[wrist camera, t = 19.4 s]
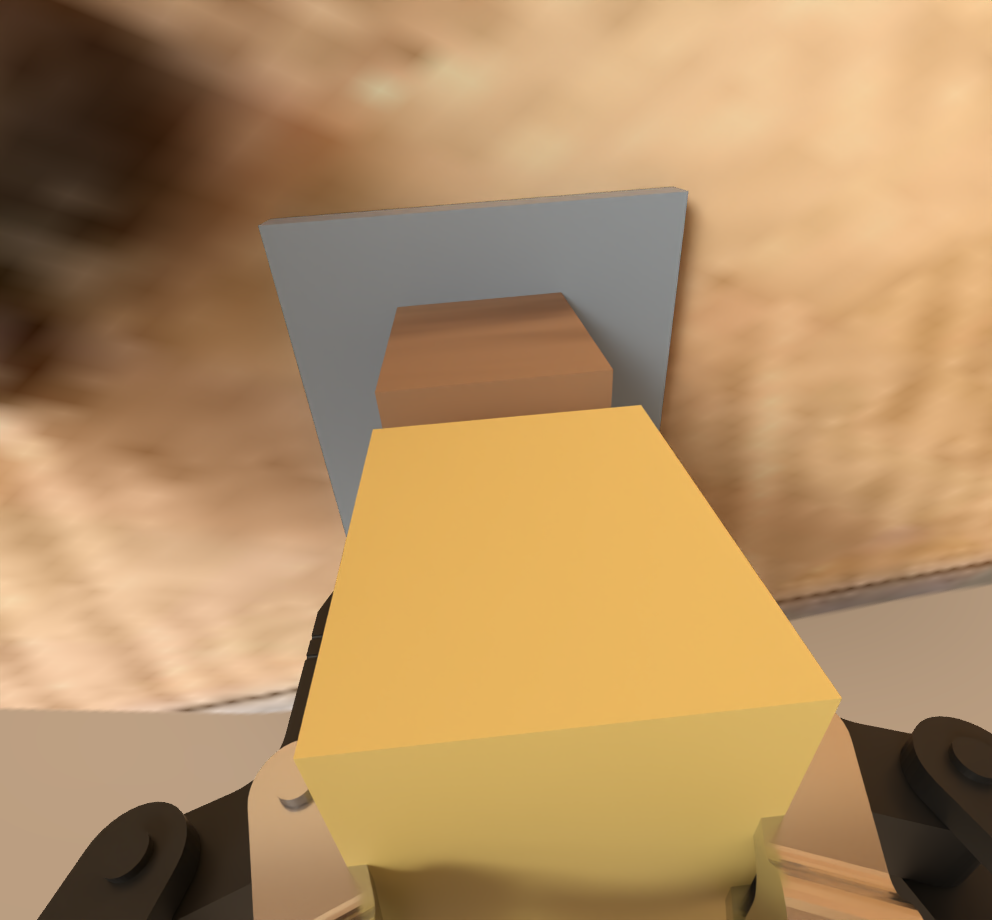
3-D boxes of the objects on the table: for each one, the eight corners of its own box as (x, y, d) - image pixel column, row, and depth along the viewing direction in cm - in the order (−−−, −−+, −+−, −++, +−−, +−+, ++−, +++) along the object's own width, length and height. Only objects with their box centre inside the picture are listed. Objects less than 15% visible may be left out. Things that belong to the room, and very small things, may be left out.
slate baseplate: (270, 218, 16) (258, 225, 15) (673, 186, 16) (688, 191, 15) (354, 531, 22) (350, 551, 21) (639, 503, 22) (648, 521, 21)
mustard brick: (373, 429, 10) (293, 758, 5) (640, 404, 10) (841, 698, 5) (423, 668, 14) (410, 992, 8) (617, 647, 14) (717, 953, 9)
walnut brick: (397, 307, 16) (374, 392, 11) (561, 292, 16) (613, 370, 11) (428, 493, 20) (422, 620, 15) (561, 479, 20) (600, 601, 15)
